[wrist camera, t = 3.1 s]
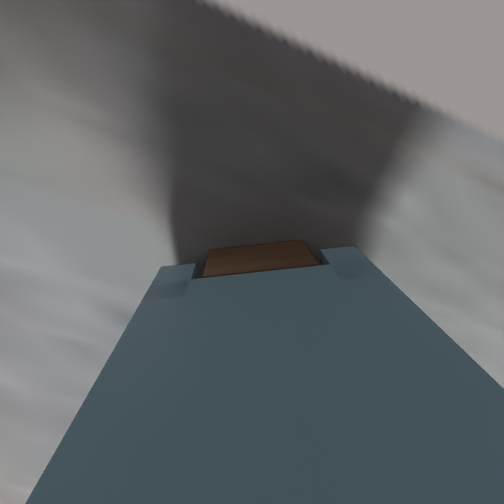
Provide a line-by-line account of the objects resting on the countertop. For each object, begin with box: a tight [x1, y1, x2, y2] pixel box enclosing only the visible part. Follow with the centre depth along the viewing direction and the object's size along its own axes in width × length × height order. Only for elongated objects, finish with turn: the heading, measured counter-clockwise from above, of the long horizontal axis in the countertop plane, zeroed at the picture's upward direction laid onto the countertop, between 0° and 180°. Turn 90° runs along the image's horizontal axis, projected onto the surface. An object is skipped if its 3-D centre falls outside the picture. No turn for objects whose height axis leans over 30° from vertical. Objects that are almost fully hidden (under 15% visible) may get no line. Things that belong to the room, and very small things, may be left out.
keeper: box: [25, 246, 504, 504], centre depth 7 cm, size 5×6×7 cm
